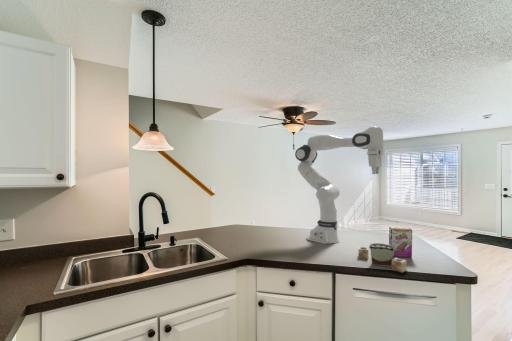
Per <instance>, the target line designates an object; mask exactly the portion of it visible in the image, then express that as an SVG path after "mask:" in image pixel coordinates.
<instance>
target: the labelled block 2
mask: <svg viewBox="0 0 512 341" xmlns="http://www.w3.org/2000/svg"><path fill="white" fill-rule="evenodd" d="M407 263H408V261H407V259H403V258H401V257H395V258H394V257H393V259H392V267H391V270H392V271H395V272H397V273H398V272H399V273H404V272H406V271H407V270H408V269H407Z"/></svg>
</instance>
